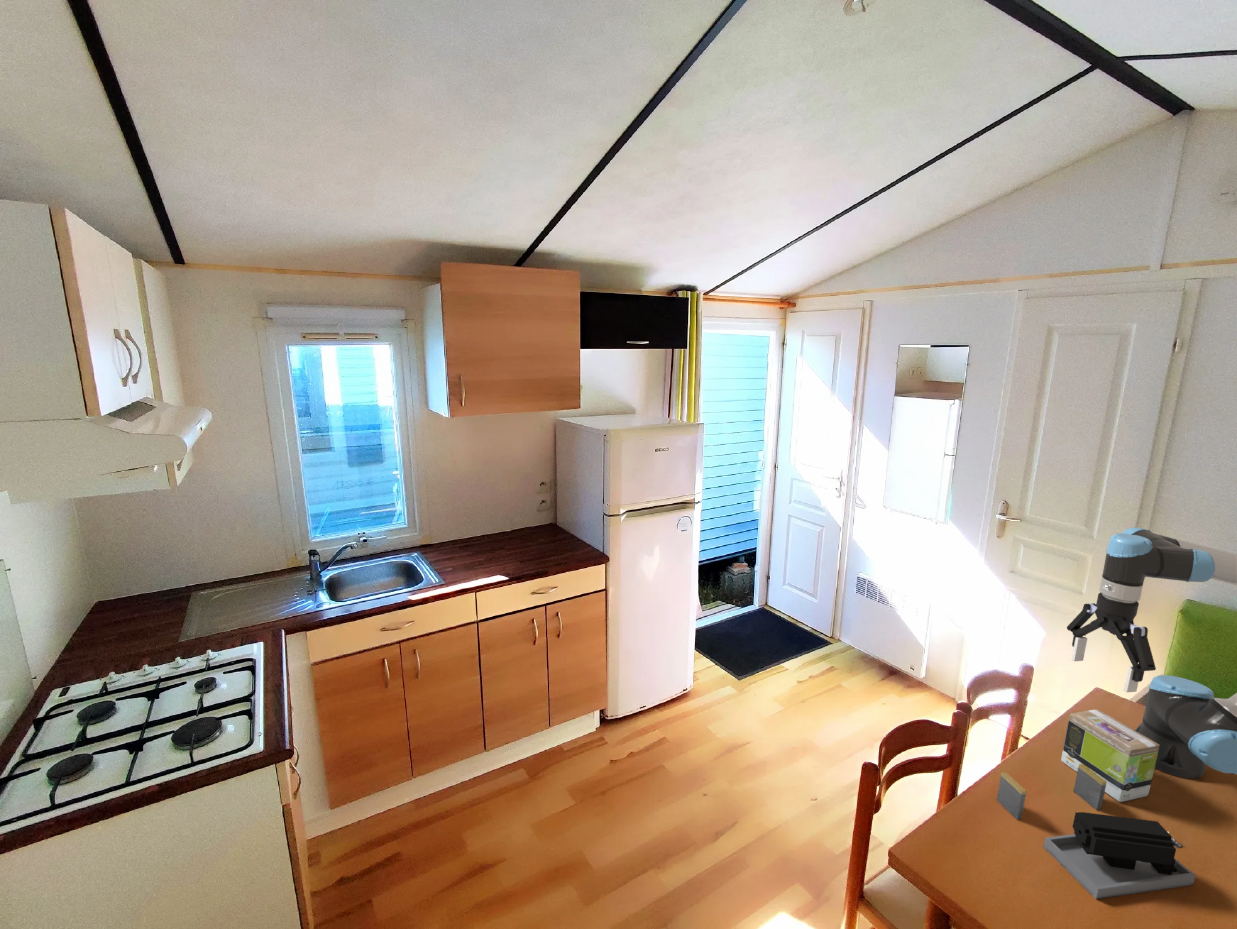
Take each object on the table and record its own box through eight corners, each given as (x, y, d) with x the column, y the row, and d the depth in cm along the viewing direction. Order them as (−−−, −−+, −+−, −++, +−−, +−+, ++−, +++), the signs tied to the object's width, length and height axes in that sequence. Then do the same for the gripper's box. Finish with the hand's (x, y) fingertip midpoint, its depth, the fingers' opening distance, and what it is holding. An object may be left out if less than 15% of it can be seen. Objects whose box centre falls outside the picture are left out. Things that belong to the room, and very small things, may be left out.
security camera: (1184, 885, 116) (1195, 845, 114) (1084, 871, 119) (1093, 832, 117) (1158, 856, 123) (1168, 817, 121) (1064, 843, 126) (1072, 805, 123)
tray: (1132, 835, 129) (1135, 826, 128) (1193, 885, 117) (1195, 875, 116) (1043, 846, 125) (1045, 837, 125) (1095, 899, 114) (1098, 889, 113)
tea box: (1149, 796, 140) (1162, 744, 137) (1119, 803, 138) (1131, 751, 135) (1087, 754, 154) (1097, 706, 151) (1058, 760, 152) (1068, 712, 149)
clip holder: (1077, 790, 142) (1083, 763, 140) (1100, 809, 136) (1106, 781, 134) (996, 799, 138) (1001, 772, 137) (1016, 819, 133) (1021, 791, 131)
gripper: (1059, 577, 149) (1045, 649, 153) (1160, 622, 124) (1141, 707, 129) (1083, 575, 150) (1069, 648, 154) (1189, 620, 125) (1169, 704, 130)
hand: (1102, 675), depth 141 cm, fingers open, 13 cm apart
